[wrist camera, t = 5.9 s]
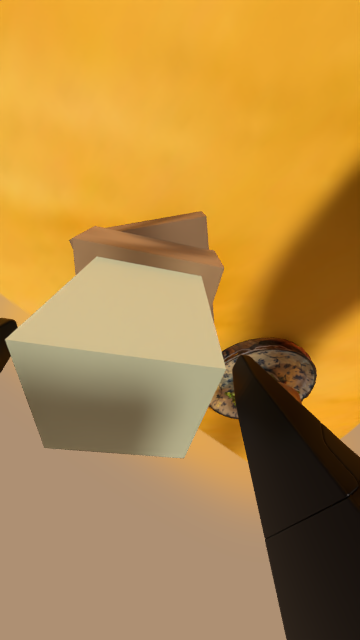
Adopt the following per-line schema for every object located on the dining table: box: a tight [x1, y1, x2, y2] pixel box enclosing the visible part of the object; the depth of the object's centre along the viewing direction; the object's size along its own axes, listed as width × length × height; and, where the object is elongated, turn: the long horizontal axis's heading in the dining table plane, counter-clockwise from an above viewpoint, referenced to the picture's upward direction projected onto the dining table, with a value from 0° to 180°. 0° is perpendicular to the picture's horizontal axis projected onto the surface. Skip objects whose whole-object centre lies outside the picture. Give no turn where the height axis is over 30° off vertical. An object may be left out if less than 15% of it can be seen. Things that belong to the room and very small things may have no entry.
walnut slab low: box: [69, 211, 214, 322], centre depth 15 cm, size 8×8×3 cm
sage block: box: [5, 257, 226, 458], centre depth 8 cm, size 5×5×6 cm
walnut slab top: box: [72, 226, 224, 309], centre depth 12 cm, size 7×7×3 cm
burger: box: [209, 338, 317, 419], centre depth 20 cm, size 12×12×8 cm
